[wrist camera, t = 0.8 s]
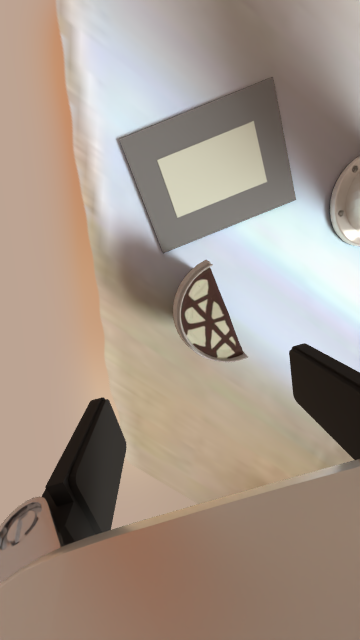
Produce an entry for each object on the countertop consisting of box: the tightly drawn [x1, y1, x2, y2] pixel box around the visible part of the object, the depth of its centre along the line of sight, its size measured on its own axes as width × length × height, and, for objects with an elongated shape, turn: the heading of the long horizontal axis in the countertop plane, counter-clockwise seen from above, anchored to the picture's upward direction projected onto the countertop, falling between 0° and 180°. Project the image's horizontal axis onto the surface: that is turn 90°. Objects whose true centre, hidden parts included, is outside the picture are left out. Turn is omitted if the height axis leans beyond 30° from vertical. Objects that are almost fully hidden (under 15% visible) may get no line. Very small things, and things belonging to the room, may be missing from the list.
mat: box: [119, 77, 296, 253], centre depth 26 cm, size 20×14×1 cm
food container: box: [173, 260, 248, 362], centre depth 26 cm, size 12×6×10 cm, turn 24°
